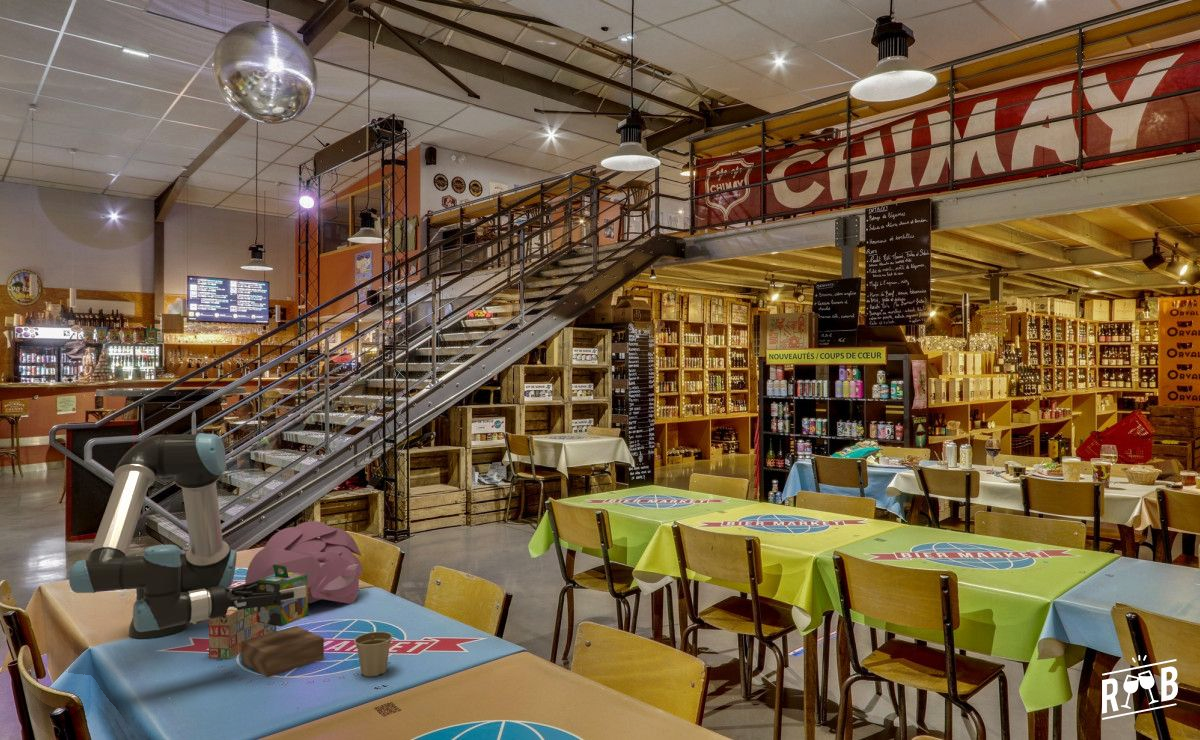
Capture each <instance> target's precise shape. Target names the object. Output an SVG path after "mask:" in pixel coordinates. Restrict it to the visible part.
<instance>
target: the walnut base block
mask: <svg viewBox="0 0 1200 740" xmlns="http://www.w3.org/2000/svg"><path fill="white" fill-rule="evenodd" d="M324 644H325V641H324V637H323V636H320V635H318V634H316V633H314V632H311V631H309V630H307V629H305V628H302V627H300V626H297V625H296V626H292V627H289V628H284V629H280V630H276V632H273V633H269V634H265V635H262V636H258V637H254V638H251V639H247V640H243V641H242V653H241V663H242V664H243V665H245V666H247V667H249V668H251V669H252V670H254V671H256V672H257V673H259V674H261V675H263V676H265V677H266V678H269V677H273V676H275V675H279V674H281V673H285V672H288V671H291V670H293V669H297V668H301V667H303V666H307V665H310V664H313V663H316V662H319V661H322V660H323V661H324V659H325V657H324V656H325V655H324V654H325V646H324Z"/></svg>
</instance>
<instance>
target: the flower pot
mask: <svg viewBox="0 0 1200 740" xmlns="http://www.w3.org/2000/svg"><path fill="white" fill-rule="evenodd" d="M393 638H394V636H393V634H392V633H391V632H388V631H373V632H367V633H363V634H360V635H357V636H356V637H355V638H354V640H353V642H354V644H355V647H356V649H357V654H358V655H357V656H358V661H359V666H360V674H361V675H363V676H364V677H376V676H379V675H381V674H385V673H386V672H387V669H388V661H389V655H390V654H389V652H390V645H391V643H392V639H393Z"/></svg>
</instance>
